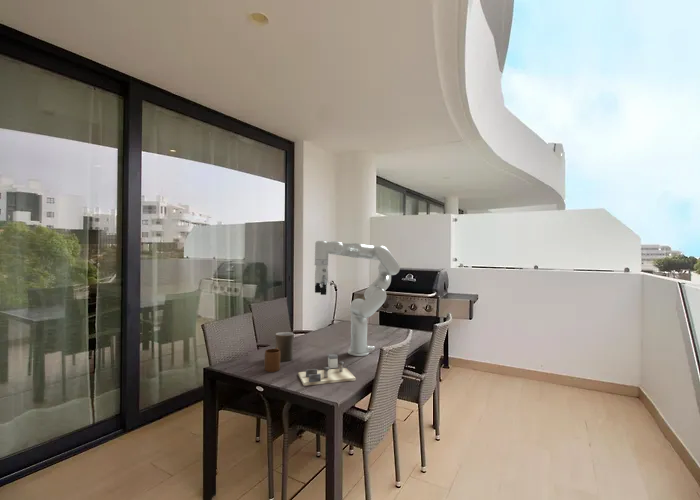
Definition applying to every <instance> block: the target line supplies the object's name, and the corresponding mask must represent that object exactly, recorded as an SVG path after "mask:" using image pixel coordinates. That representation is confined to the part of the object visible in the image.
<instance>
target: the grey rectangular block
mask: <svg viewBox="0 0 700 500" xmlns="http://www.w3.org/2000/svg"><path fill="white" fill-rule="evenodd" d="M338 359H339V356H338V354H337V353H328V354H327V367H329V369H339V367H338V366H339V364H338V362H339V360H338Z"/></svg>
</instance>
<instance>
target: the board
mask: <svg viewBox="0 0 700 500" xmlns="http://www.w3.org/2000/svg"><path fill="white" fill-rule="evenodd" d="M344 363H345V362H344V361H341V360H340V361H339V360H338V366H339V367H338V368H329V367H328V366H323V369H317V368H308V369H305V371H299V372H297V377H298V378H299V380H300V381H301V383H302V385H303V386H314V385H315V386H316V385H324V384H325V385H326V384H334V383H335V384H336V383H342V382H353V381H354V382H355V381H356V380H357V378H356V377H355V376H354V374H353V373H352V372H351V371H350V370H349V369H348V368H347V367H343V365H344Z"/></svg>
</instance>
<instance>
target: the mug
mask: <svg viewBox="0 0 700 500" xmlns="http://www.w3.org/2000/svg"><path fill="white" fill-rule="evenodd" d="M280 369H281V361H280V350H279V348H270V349H266V350H265V351H264V371H265V372H267V373H276V372H279V371H280Z"/></svg>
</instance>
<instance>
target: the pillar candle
mask: <svg viewBox="0 0 700 500" xmlns="http://www.w3.org/2000/svg"><path fill="white" fill-rule="evenodd" d="M274 347H275V348H279V350H280V363H281V362H290V361H293V359H294V332H290V331H283V332H282V331H281V332H276V333H275V346H274ZM275 348H274V349H275Z"/></svg>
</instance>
